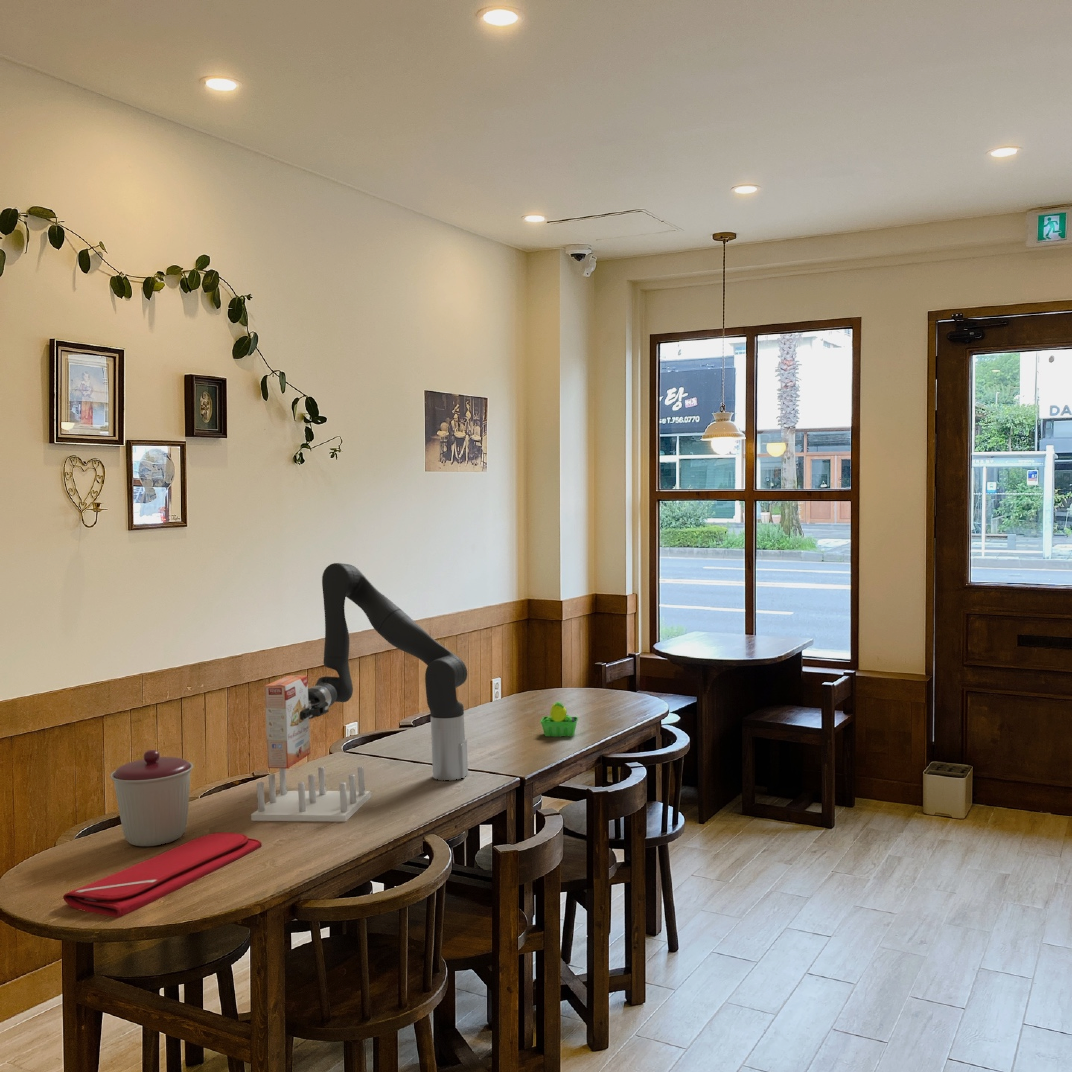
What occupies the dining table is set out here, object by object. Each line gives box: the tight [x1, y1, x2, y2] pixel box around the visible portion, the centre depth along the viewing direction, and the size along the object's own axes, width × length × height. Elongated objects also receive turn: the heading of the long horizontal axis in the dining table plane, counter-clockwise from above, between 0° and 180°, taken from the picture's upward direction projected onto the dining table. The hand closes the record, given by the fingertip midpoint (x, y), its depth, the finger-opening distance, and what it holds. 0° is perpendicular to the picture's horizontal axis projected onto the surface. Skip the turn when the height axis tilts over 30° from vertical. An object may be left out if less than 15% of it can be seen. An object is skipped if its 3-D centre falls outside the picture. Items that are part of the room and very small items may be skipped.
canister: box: [109, 749, 194, 847], centre depth 235 cm, size 18×18×21 cm
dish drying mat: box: [62, 832, 263, 918], centre depth 213 cm, size 16×41×4 cm, turn 155°
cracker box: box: [264, 674, 311, 770], centre depth 255 cm, size 14×6×21 cm, turn 170°
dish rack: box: [250, 766, 372, 823], centre depth 255 cm, size 24×20×8 cm
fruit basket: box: [540, 701, 579, 738], centre depth 324 cm, size 11×9×11 cm
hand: (289, 715), depth 256 cm, fingers closed on cracker box, 6 cm apart
